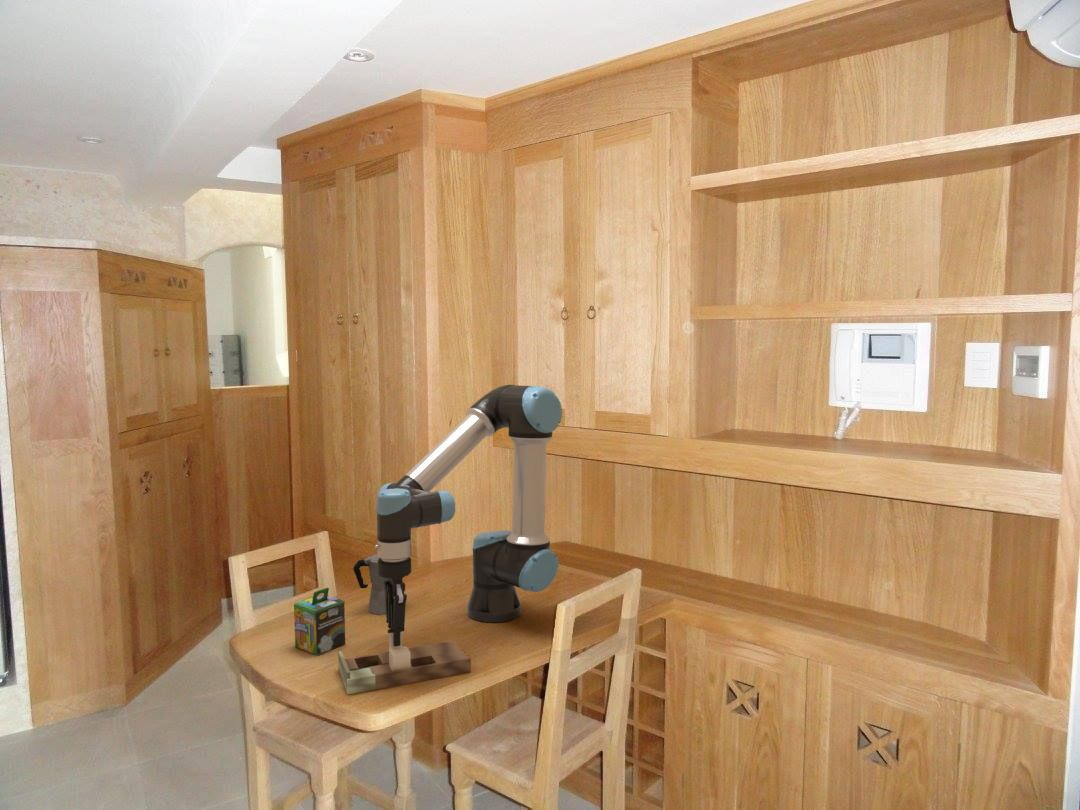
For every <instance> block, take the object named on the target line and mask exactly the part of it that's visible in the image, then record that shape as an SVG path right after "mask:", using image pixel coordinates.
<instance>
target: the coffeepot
mask: <svg viewBox="0 0 1080 810" xmlns="http://www.w3.org/2000/svg"><path fill="white" fill-rule="evenodd" d="M378 559H379V557H378V553H377V554H376V553H375V554H373V555H370V556H367V558H363V559H358V560H357V562H356V563H355V564H354V566H353V568H352V569H353V572H354V574H355V578H356V580H357V583H358V585H359V588H360V589H366V588H368V586H369V584H368V583H367V584H366V583H365V584H364V578H363V576H362V570H361V567H368V571H369V579H370V583H371V587H370V593H369V602H368V613H369V614H372V615H377V616H386V603H385V589H384V584H383V582H384V580H387V579H386V578H383V577H381V576H379V575H378Z"/></svg>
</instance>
